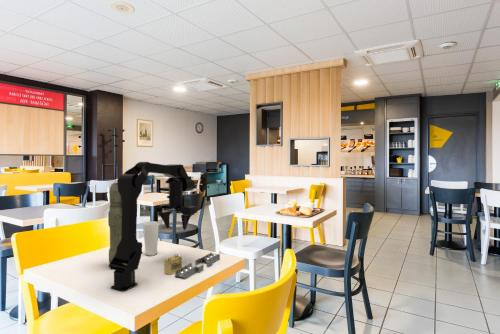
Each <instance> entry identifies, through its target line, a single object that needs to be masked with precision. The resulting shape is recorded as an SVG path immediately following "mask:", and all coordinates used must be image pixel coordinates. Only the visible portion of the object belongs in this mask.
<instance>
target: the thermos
mask: <svg viewBox="0 0 500 334" xmlns="http://www.w3.org/2000/svg"><path fill="white" fill-rule="evenodd" d="M108 194H109V210H108V212H107V213H108V215H107V216H108V217H107V219H108V220H107V221H108V223H107V224H108V227H109V249H108V262H109V263H110V262H111V261H112V259H113V258H114V256H115V255H116V250H117V246H118V244H119V242H120V241H121V238H122V197H121V195H120V193H119V192H118V185H117V182H113V183H112V184H111V185H110V187H109V193H108ZM123 264H125V263H123ZM125 265H127V264H125Z"/></svg>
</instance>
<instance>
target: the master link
mask: <svg viewBox="0 0 500 334" xmlns="http://www.w3.org/2000/svg"><path fill="white" fill-rule="evenodd" d="M163 263H164V265H163V269H164V271H163V273H164V274H165V275H170V276H172V275H175V271H176V270H178V269H180V268H182V267H183V257H182V256H181V255H179V254H175V255H172V256H170V257H167V258H165V259H164V260H163Z"/></svg>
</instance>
